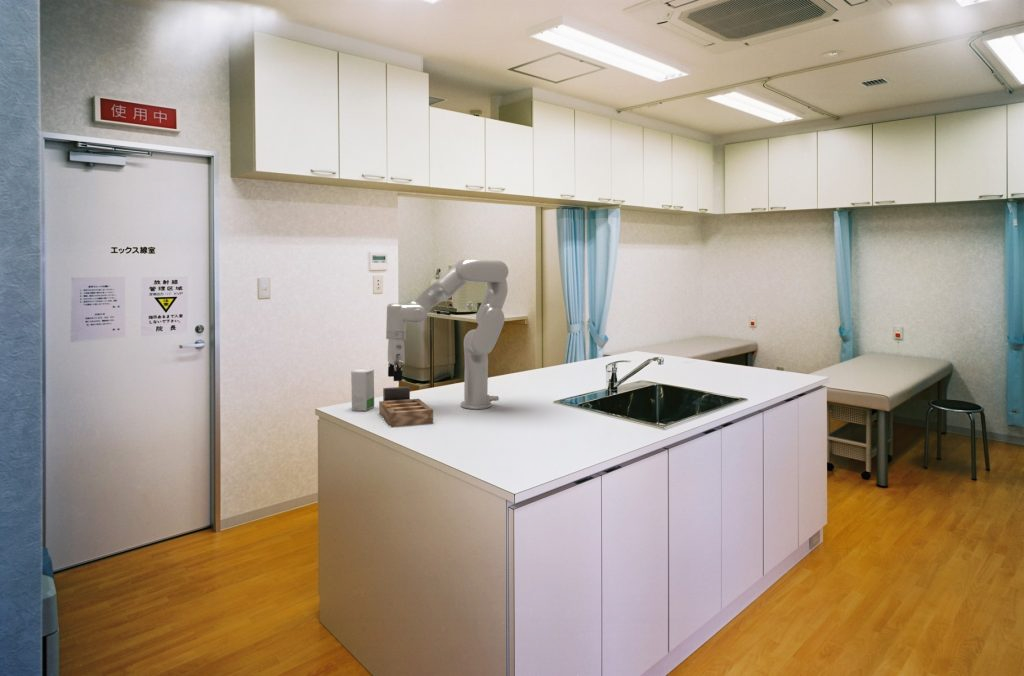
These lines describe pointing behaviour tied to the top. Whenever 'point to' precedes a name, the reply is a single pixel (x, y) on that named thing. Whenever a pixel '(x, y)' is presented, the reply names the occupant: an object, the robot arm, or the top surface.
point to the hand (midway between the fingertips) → (394, 378)
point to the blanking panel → (396, 393)
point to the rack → (405, 412)
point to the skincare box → (362, 389)
